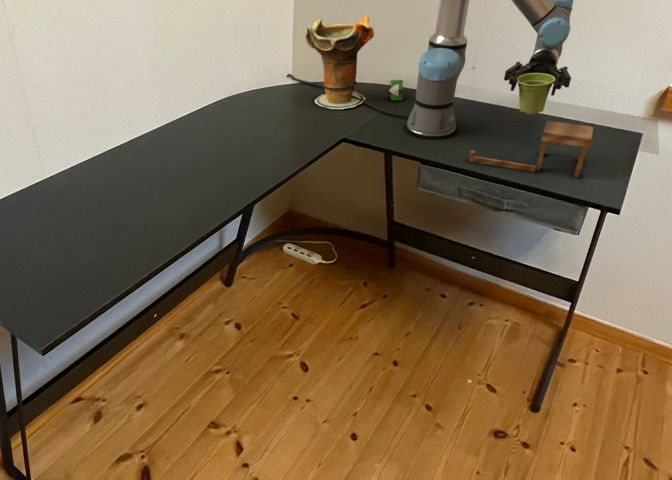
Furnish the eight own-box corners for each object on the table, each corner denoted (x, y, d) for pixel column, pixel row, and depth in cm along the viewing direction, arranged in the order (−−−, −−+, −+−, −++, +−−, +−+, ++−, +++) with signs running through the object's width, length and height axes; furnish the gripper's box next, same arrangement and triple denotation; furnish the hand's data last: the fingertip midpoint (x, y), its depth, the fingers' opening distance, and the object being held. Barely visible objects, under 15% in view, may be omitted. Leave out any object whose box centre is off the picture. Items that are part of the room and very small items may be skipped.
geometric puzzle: (384, 88, 218) (388, 74, 210) (403, 87, 217) (407, 74, 210) (386, 105, 216) (389, 92, 208) (405, 105, 216) (409, 92, 208)
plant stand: (468, 161, 174) (475, 124, 167) (477, 144, 183) (484, 108, 176) (579, 179, 163) (591, 140, 156) (583, 160, 172) (594, 122, 165)
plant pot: (552, 116, 160) (557, 83, 155) (514, 117, 162) (518, 85, 157) (547, 103, 167) (552, 72, 162) (511, 104, 169) (515, 73, 164)
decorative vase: (308, 89, 225) (308, 9, 208) (370, 91, 222) (375, 9, 205) (301, 110, 209) (301, 25, 192) (368, 112, 205) (374, 25, 188)
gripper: (581, 80, 171) (574, 107, 156) (500, 71, 180) (487, 97, 164) (588, 53, 167) (582, 78, 151) (505, 45, 175) (492, 69, 159)
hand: (533, 88), depth 157 cm, fingers closed on plant pot, 9 cm apart
